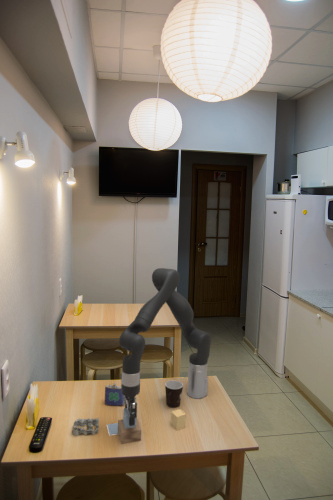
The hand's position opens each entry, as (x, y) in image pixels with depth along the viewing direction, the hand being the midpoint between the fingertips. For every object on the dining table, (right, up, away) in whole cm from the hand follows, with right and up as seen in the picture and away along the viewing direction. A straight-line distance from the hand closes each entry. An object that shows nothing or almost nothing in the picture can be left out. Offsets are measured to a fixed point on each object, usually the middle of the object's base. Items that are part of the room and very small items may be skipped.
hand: (129, 419), depth 145 cm
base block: (0, -7, +1) cm, 7 cm away
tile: (-6, -7, +5) cm, 10 cm away
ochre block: (+20, -8, +9) cm, 23 cm away
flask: (-10, -5, +24) cm, 26 cm away
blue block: (0, -2, 0) cm, 2 cm away
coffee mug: (+17, -6, +25) cm, 31 cm away
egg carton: (-19, -7, +4) cm, 20 cm away
